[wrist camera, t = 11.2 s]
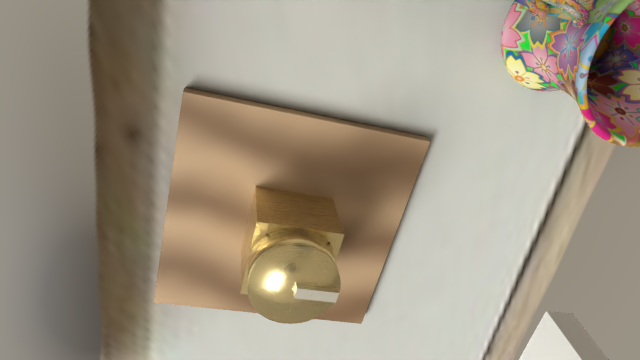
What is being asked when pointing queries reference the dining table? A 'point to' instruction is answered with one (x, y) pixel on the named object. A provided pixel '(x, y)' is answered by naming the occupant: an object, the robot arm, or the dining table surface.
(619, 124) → the mug
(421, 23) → the dining table surface
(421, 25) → the dining table surface
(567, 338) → the robot arm
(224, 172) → the plate
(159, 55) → the dining table surface
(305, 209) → the knob
